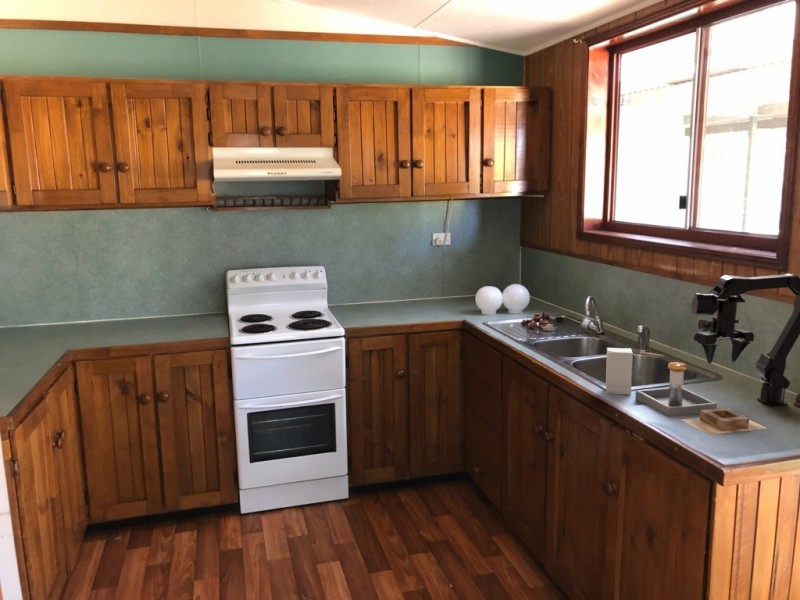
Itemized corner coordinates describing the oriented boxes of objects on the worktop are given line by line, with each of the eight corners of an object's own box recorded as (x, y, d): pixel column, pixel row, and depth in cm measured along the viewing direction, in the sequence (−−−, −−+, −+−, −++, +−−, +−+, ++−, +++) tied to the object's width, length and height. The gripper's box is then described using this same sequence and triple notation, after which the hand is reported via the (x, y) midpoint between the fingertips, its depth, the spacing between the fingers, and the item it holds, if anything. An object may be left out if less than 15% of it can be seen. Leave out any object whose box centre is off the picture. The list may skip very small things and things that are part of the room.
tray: (679, 396, 224) (680, 386, 223) (715, 414, 208) (716, 403, 207) (635, 400, 219) (636, 390, 219) (668, 419, 203) (669, 408, 203)
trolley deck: (736, 416, 205) (737, 404, 205) (766, 431, 194) (768, 418, 193) (680, 422, 200) (681, 410, 199) (708, 438, 189) (709, 424, 188)
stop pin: (682, 401, 215) (684, 362, 213) (685, 407, 210) (687, 367, 208) (665, 400, 216) (667, 362, 214) (667, 406, 211) (669, 366, 209)
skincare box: (629, 390, 230) (632, 348, 227) (631, 395, 224) (634, 352, 221) (604, 388, 232) (606, 346, 229) (604, 393, 226) (607, 350, 223)
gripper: (732, 308, 225) (727, 353, 228) (684, 311, 220) (680, 357, 223) (757, 315, 214) (752, 363, 217) (708, 318, 209) (703, 367, 212)
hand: (721, 362), depth 218 cm, fingers open, 9 cm apart
